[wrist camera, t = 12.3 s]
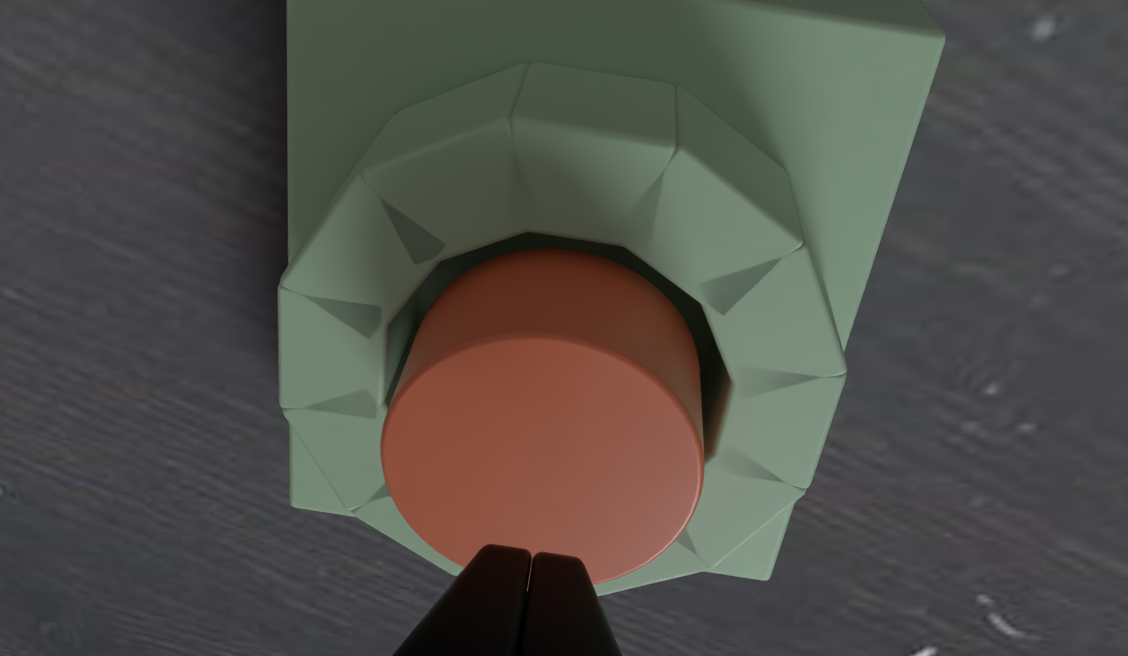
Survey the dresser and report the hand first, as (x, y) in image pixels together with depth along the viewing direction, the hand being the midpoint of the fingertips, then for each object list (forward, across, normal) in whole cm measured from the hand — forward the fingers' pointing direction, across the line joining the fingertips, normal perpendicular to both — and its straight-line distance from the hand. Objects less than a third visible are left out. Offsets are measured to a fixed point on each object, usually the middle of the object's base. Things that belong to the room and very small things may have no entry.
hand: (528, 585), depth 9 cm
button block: (+6, 0, 0) cm, 6 cm away
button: (+3, 0, 0) cm, 3 cm away
